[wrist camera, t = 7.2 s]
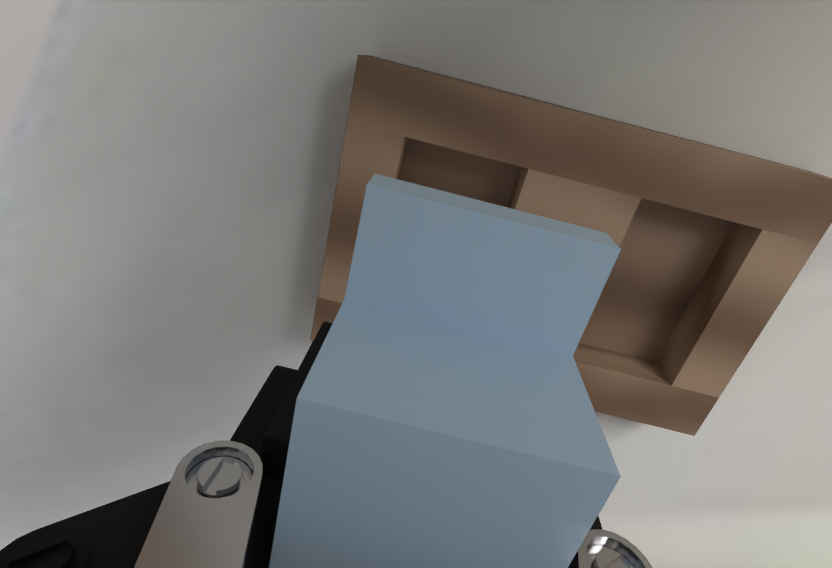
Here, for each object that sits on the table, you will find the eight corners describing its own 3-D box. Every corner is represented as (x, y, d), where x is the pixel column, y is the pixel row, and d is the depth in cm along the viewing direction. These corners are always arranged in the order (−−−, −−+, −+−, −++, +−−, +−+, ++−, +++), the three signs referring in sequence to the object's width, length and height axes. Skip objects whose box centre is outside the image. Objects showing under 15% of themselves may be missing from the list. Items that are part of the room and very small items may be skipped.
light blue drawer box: (390, 152, 10) (298, 274, 4) (578, 201, 10) (740, 386, 4) (314, 516, 14) (220, 810, 9) (443, 546, 15) (433, 856, 9)
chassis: (369, 55, 21) (357, 54, 18) (813, 172, 21) (857, 186, 19) (323, 316, 26) (309, 341, 24) (674, 404, 27) (695, 437, 24)
